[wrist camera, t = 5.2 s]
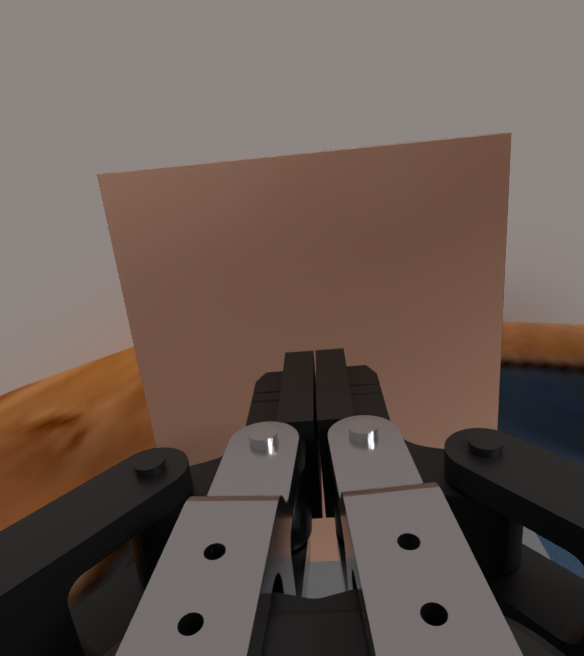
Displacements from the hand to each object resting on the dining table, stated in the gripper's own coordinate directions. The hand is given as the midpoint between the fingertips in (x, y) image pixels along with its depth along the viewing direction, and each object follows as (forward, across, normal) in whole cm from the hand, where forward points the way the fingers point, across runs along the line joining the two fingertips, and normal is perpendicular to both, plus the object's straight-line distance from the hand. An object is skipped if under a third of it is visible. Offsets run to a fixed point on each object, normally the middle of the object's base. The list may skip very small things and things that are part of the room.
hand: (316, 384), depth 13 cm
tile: (+5, 0, +10) cm, 11 cm away
